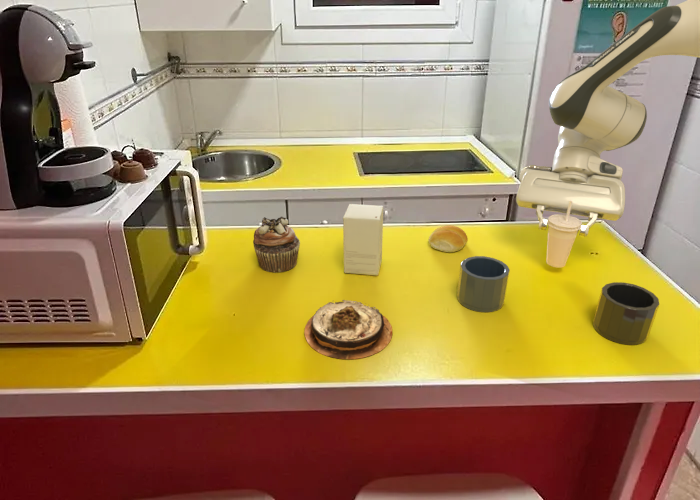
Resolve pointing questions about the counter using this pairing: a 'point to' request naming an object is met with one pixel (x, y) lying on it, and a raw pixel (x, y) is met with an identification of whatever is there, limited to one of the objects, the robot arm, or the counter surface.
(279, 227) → the cupcake
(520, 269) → the counter surface
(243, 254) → the counter surface
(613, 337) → the cup
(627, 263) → the counter surface
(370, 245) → the white packaging box
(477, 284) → the cup
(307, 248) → the counter surface
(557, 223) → the smoothie
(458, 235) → the bread roll
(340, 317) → the frosted layer cake
